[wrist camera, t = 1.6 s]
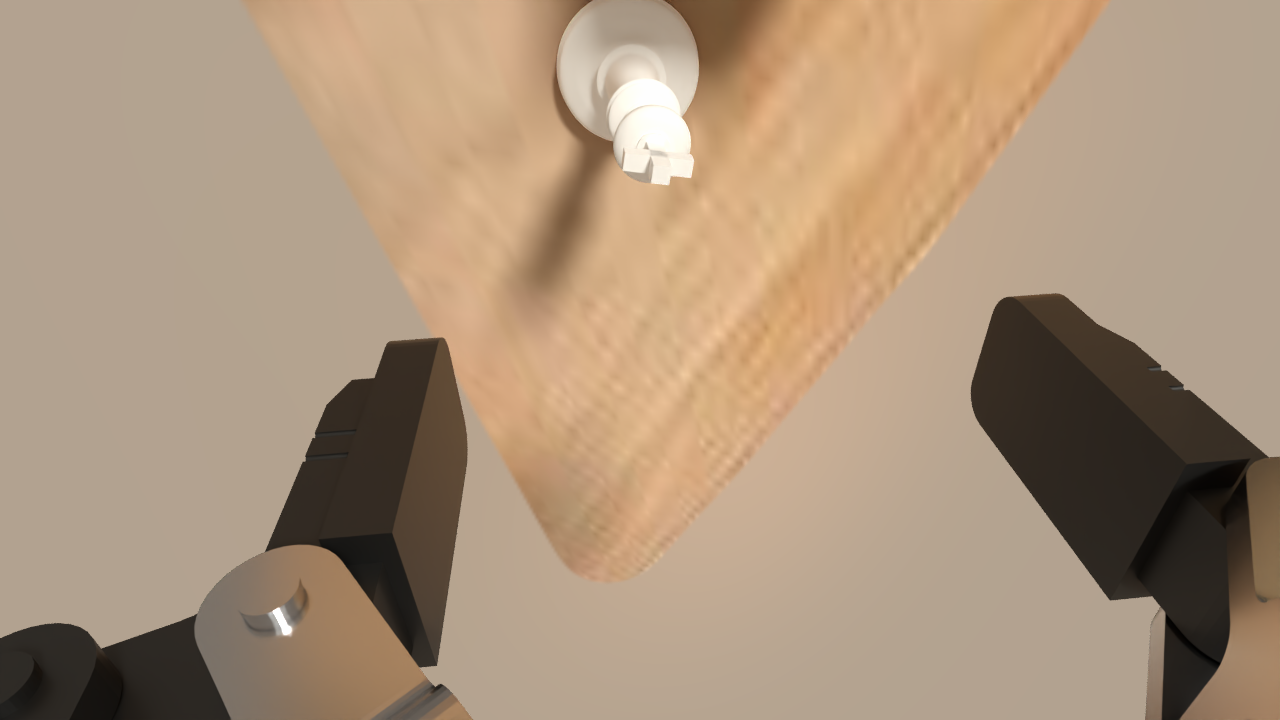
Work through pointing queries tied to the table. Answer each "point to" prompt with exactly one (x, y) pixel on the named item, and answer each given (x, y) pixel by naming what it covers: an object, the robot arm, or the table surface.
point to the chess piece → (632, 83)
